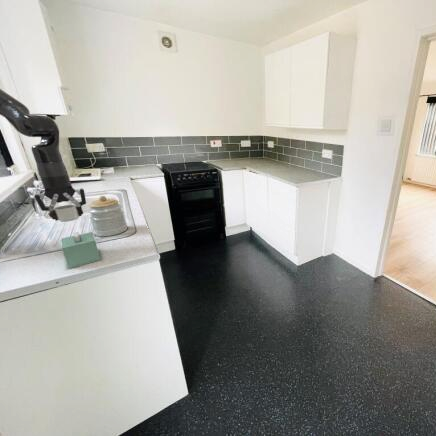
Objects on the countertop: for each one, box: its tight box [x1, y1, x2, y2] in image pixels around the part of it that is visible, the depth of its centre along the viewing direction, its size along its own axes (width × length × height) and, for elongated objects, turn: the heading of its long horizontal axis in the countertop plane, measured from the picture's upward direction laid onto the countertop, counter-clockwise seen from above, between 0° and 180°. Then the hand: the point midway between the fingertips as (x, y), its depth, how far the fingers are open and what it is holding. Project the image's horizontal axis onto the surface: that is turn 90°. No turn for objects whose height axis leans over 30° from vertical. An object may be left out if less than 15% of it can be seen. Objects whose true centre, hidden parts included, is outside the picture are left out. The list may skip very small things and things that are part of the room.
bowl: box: [54, 204, 80, 223], centre depth 94 cm, size 6×6×5 cm
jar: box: [87, 195, 128, 237], centre depth 114 cm, size 13×13×18 cm
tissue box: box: [61, 231, 102, 269], centre depth 91 cm, size 9×11×10 cm
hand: (68, 217), depth 94 cm, fingers closed on bowl, 6 cm apart
